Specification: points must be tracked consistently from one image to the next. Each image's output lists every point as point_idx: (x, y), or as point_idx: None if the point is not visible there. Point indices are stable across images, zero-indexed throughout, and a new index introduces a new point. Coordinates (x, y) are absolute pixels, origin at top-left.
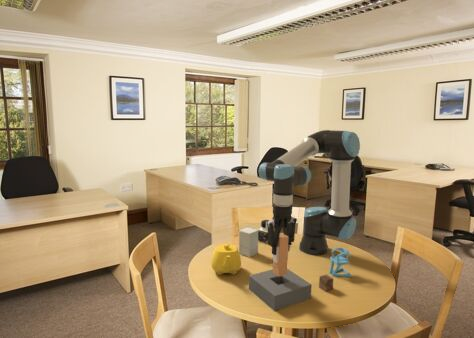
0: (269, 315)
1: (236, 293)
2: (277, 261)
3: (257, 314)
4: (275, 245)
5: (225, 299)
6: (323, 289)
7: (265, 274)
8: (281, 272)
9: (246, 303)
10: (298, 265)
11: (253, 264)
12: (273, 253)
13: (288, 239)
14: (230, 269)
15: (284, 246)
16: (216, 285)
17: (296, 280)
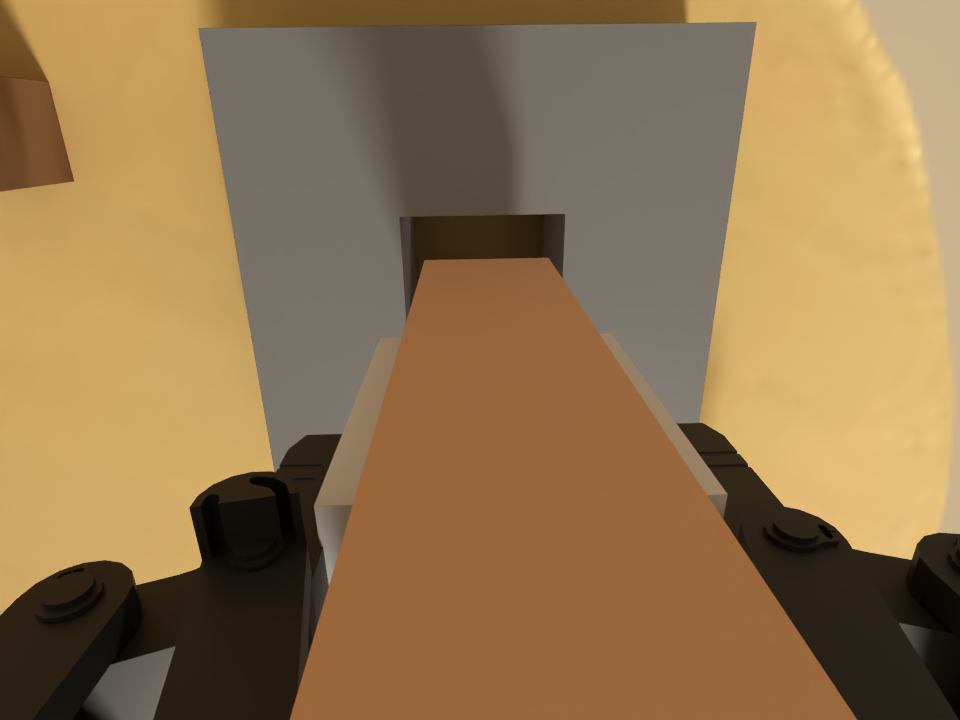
0: (769, 3)
1: (764, 410)
2: (605, 342)
3: (839, 72)
4: (836, 552)
5: (883, 376)
6: (50, 114)
7: None
8: (513, 269)
9: (798, 258)
10: (67, 554)
11: None
12: (723, 450)
13: (258, 669)
14: None
15: (510, 462)
16: None
17: (319, 201)
